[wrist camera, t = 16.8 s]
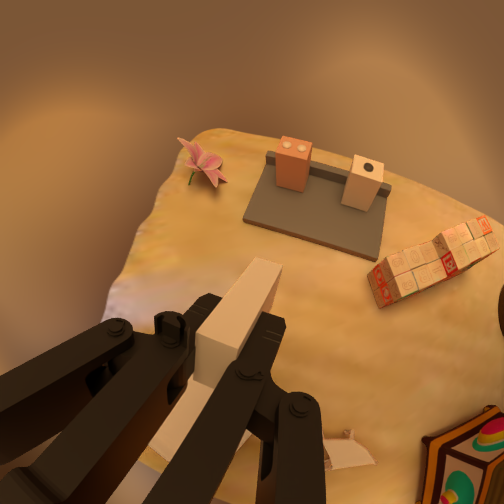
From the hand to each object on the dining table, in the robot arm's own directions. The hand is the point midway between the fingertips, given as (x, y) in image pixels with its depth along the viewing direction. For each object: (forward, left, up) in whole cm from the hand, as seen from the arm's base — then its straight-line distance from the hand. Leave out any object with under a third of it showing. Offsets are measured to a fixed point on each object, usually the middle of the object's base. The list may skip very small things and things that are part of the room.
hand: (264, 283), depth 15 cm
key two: (+5, -26, -26) cm, 37 cm away
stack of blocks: (-23, -17, -28) cm, 40 cm away
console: (-1, -23, -28) cm, 36 cm away
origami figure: (-18, +15, -28) cm, 37 cm away
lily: (+21, -24, -28) cm, 43 cm away
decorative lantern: (-43, +16, -28) cm, 54 cm away
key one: (-7, -26, -26) cm, 38 cm away
